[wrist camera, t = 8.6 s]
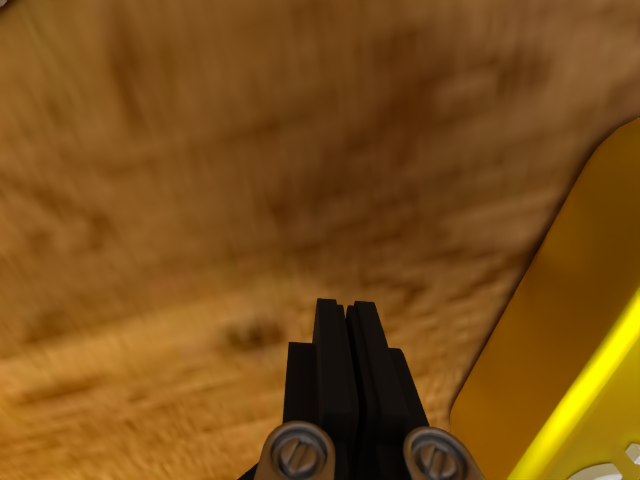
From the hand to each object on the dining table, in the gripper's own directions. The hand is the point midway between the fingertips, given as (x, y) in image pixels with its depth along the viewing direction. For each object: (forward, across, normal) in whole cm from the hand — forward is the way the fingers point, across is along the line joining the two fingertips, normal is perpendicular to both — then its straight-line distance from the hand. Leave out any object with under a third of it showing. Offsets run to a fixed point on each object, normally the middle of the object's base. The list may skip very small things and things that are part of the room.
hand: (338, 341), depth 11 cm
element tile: (+3, -14, +1) cm, 14 cm away
